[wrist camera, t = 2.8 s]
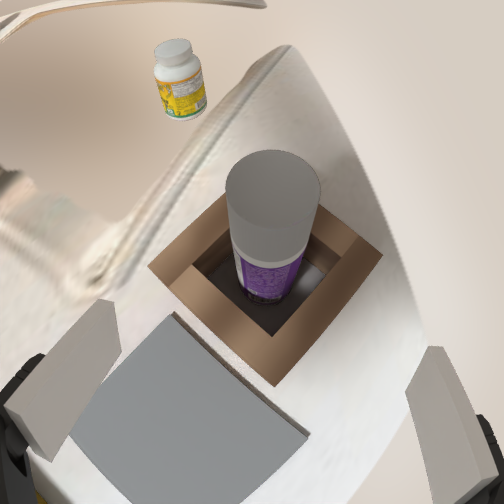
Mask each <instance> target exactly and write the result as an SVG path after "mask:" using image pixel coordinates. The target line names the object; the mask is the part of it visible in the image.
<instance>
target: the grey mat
mask: <svg viewBox="0 0 504 504" xmlns="http://www.w3.org/2000/svg"><path fill="white" fill-rule="evenodd" d="M69 436H70V437H71V438H72V439H73V441H74V442H75V443H76V444H77V446H78V447H79V448H80V449H81V450H82V451H83V453H84V454H85V455H86V456H87V457H88V458H89V460H90V461H91V462H92V463H93V464H94V465H95V466H96V467H97V469H98V470H99V471H100V472H101V473H102V474H103V475H104V476H105V477H106V478H107V479H108V480H109V481H110V482H111V483H112V484H113V485H114V486H115V487H116V488H117V489H118V490H119V491H120V492H121V493H122V494H123V495H124V496H125V497H126V498H127V499H128V500H129V501H130V502H131V503H132V504H240V503H241V502H242V501H243V500H244V499H246V498H247V497H248V496H249V495H250V494H251V493H252V492H254V491H255V490H256V489H257V488H258V487H259V486H260V485H262V484H263V483H264V482H265V481H266V480H267V479H268V478H269V477H270V476H271V475H272V474H273V473H275V472H276V471H277V470H278V469H279V468H280V467H281V466H282V465H283V464H284V463H285V462H286V461H287V460H288V459H289V458H290V457H291V456H292V455H293V454H294V453H295V452H296V451H297V450H298V449H299V448H300V447H301V446H302V445H303V444H304V443H305V442H306V441H307V440H308V438H307V437H306V436H305V435H304V434H302V433H301V432H300V431H298V430H297V429H296V428H295V427H293V426H292V425H291V424H290V423H288V422H287V421H286V420H285V419H284V418H282V417H281V416H280V415H279V414H278V413H276V412H275V411H274V410H273V409H272V408H270V407H269V406H268V405H267V404H266V403H264V402H263V401H262V400H261V399H260V398H259V397H257V396H256V395H255V394H254V393H253V392H252V391H251V390H249V389H248V388H247V387H246V386H245V385H244V384H243V383H242V382H240V381H239V380H238V379H237V378H236V377H235V376H234V375H233V374H232V373H230V372H229V371H228V370H227V369H226V368H225V367H224V366H223V365H222V364H221V363H220V362H219V361H217V360H216V359H215V358H214V357H213V356H212V355H211V354H210V353H209V352H208V351H207V350H206V349H205V348H204V347H203V346H202V345H201V344H200V343H199V342H198V341H197V340H196V339H195V338H193V337H192V336H191V335H190V334H189V333H188V332H187V331H186V330H185V329H184V328H183V327H182V326H181V325H180V324H179V323H178V322H177V321H176V320H175V318H174V317H173V316H172V315H170V314H169V315H168V316H167V317H166V318H165V319H164V320H163V321H162V322H161V323H160V324H159V325H158V326H157V327H156V328H155V329H154V330H153V332H152V333H151V334H150V335H149V336H148V337H147V338H146V339H145V340H144V341H143V342H142V343H141V344H140V345H139V346H138V347H137V348H136V349H135V350H134V351H133V352H132V353H131V354H130V355H129V356H128V357H127V358H126V359H125V360H124V361H123V362H122V363H121V364H120V365H119V366H118V367H117V368H116V370H115V371H114V372H113V373H112V374H111V375H110V376H109V377H108V378H107V379H106V380H105V381H104V382H103V383H102V384H101V385H100V386H99V387H98V389H97V390H96V392H95V393H94V395H93V396H92V398H91V399H90V401H89V402H88V404H87V406H86V407H85V409H84V410H83V412H82V413H81V415H80V417H79V418H78V420H77V421H76V423H75V425H74V426H73V428H72V429H71V431H70V433H69Z"/></svg>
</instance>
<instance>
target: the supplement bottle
mask: <svg viewBox="0 0 504 504" xmlns="http://www.w3.org/2000/svg"><path fill="white" fill-rule="evenodd" d="M154 52H155V57H156V61H157V64H156V66H155V68H154V76H155V79H156V83H157V86H158V89H159V92H160V96H161V99H162V103H163V106H164V109H165V112H166V114H167V115H168V117H170V118H172V119H174V120H177V121H187V120H191V119H193V118H196V117H198V116H199V115H200V114H202V113H203V112H204V110H205V108H206V106H207V100H206V94H205V88H204V82H203V76H202V69H201V64H200V60H199V59H198V57H197V56H195V55H194V54H192V52H193V51H192V47H191V43H190V42H189V41H188V40H186V39H172V40H169V41H166V42H163V43H161V44H160V45H159V46H157V47H156V49H155V51H154Z"/></svg>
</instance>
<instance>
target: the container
mask: <svg viewBox="0 0 504 504" xmlns="http://www.w3.org/2000/svg"><path fill="white" fill-rule="evenodd" d="M225 190H226V200H227V208H228V217H229V226H230V234H231V241H232V246H233V252H234V257H235V263H236V268H237V273H238V278H239V284H240V288H241V290H242V292H243V294H244V296H245V297H246V298H247V299H248V300H249V301H251V302H252V303H254V304H257V305H261V306H271V305H275V304H277V303H279V302H281V301H282V300H283V299H285V298H286V296H287V295H288V293H289V292H290V289H291V287H292V284H293V282H294V279H295V276H296V273H297V271H298V268H299V265H300V263H301V260H302V257H303V254H304V252H305V249H306V246H307V243H308V239H309V235H310V232H311V228H312V225H313V221H314V217H315V214H316V210H317V206H318V203H319V199H320V183H319V180H318V177H317V175H316V173H315V172H314V170H313V169H312V168H311V166H310V165H309V164H308V163H307V162H305V161H304V160H303V159H301V158H300V157H298V156H296V155H294V154H291V153H289V152H285V151H280V150H263V151H258V152H255V153H252V154H249V155H247V156H246V157H244V158H242V159H241V160H240V161H238V162H237V163H236V164H235V165H234V167H233V168H232V169H231V171H230V172H229V175H228V177H227V180H226V187H225Z"/></svg>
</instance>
